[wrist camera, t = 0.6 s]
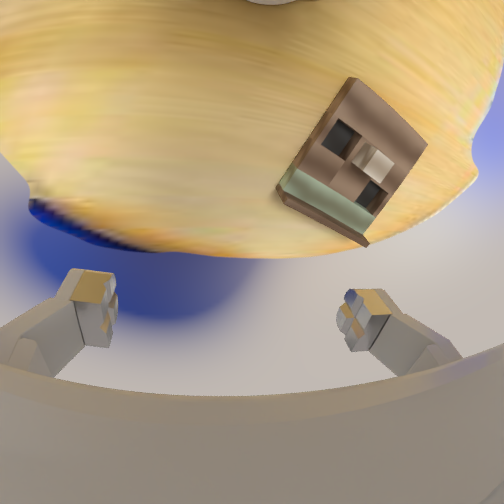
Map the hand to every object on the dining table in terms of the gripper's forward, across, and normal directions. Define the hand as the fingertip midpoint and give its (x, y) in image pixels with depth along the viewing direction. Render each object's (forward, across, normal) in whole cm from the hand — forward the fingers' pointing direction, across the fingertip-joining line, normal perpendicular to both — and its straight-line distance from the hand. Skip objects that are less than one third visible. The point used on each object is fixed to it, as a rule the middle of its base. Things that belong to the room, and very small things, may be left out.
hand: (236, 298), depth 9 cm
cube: (+32, -24, -3) cm, 40 cm away
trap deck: (+35, -24, -2) cm, 43 cm away
